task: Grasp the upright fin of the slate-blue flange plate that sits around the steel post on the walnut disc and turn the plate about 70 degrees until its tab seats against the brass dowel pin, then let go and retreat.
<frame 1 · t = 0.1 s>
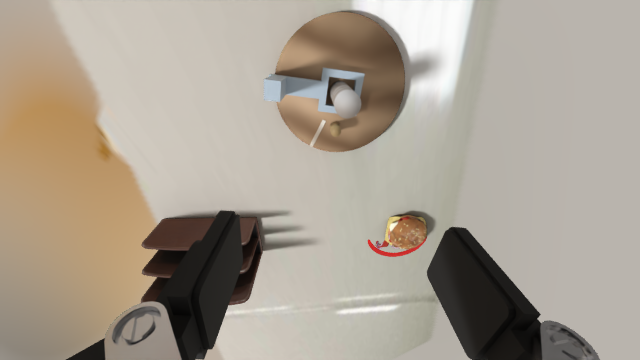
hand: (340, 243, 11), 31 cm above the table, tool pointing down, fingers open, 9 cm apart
hamburger: (396, 231, 52), on the table
letter holder: (216, 234, 51), on the table
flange: (315, 92, 32), point 5 cm above the table, hinge at 0.0°
post base: (338, 90, 37), on the table
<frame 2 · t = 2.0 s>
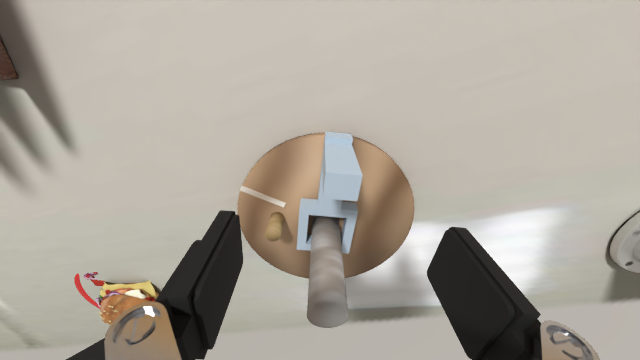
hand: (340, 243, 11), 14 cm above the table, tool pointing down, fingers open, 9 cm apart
hamburger: (128, 288, 35), on the table
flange: (330, 216, 21), point 5 cm above the table, hinge at 0.0°
post base: (325, 214, 27), on the table
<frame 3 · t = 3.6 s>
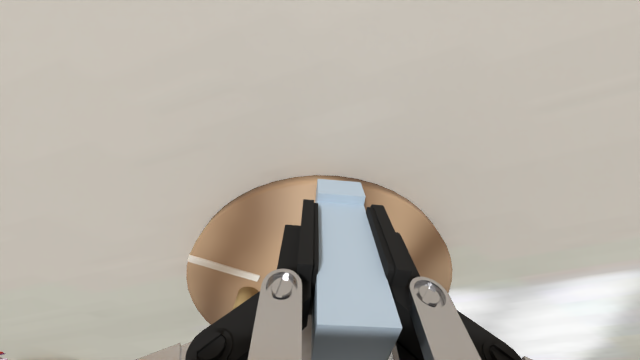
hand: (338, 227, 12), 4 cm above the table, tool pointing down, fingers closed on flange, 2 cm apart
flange: (328, 320, 13), point 5 cm above the table, hinge at 0.0°, touching gripper
post base: (320, 282, 19), on the table
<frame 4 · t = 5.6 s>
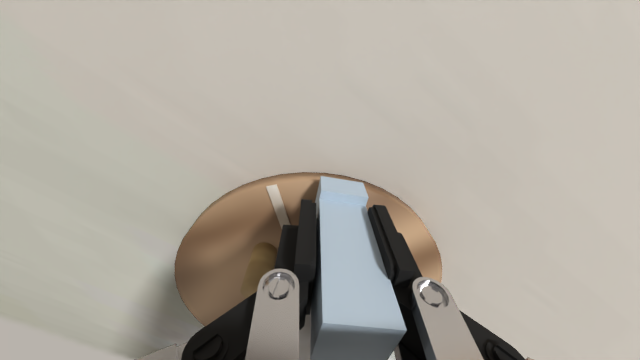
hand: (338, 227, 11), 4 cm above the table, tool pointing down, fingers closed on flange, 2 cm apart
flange: (320, 319, 13), point 5 cm above the table, hinge at 47.7°, touching gripper
post base: (310, 280, 19), on the table
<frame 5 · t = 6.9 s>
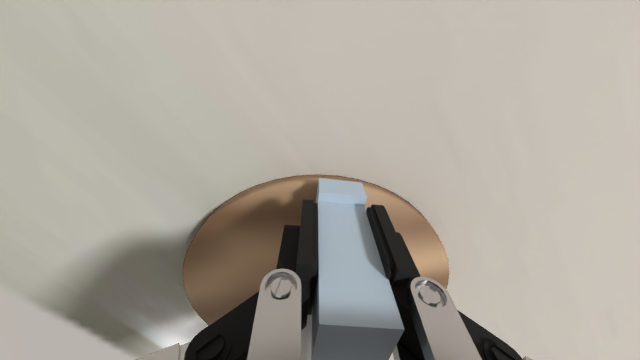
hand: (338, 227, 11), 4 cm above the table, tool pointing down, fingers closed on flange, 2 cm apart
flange: (325, 320, 13), point 5 cm above the table, hinge at 68.0°, touching gripper
post base: (317, 282, 19), on the table
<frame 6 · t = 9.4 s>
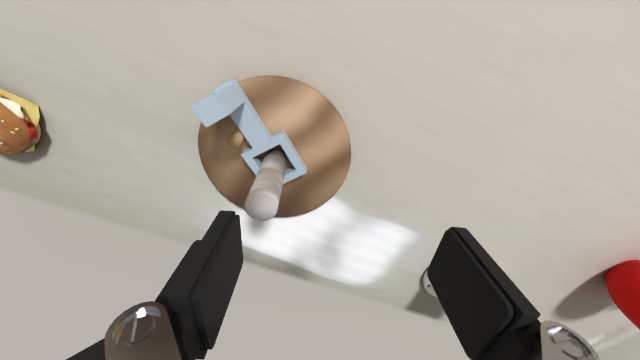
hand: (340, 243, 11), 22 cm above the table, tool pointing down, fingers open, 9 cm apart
ceramic cup: (628, 272, 48), on the table
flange: (253, 146, 26), point 5 cm above the table, hinge at 68.2°
post base: (277, 154, 32), on the table
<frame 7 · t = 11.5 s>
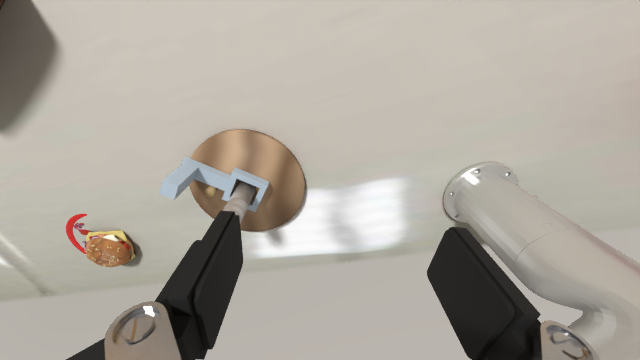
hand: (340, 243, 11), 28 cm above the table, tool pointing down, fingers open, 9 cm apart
hamburger: (107, 238, 48), on the table
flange: (217, 190, 36), point 5 cm above the table, hinge at 68.2°
post base: (249, 183, 41), on the table
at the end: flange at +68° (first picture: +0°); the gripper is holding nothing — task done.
